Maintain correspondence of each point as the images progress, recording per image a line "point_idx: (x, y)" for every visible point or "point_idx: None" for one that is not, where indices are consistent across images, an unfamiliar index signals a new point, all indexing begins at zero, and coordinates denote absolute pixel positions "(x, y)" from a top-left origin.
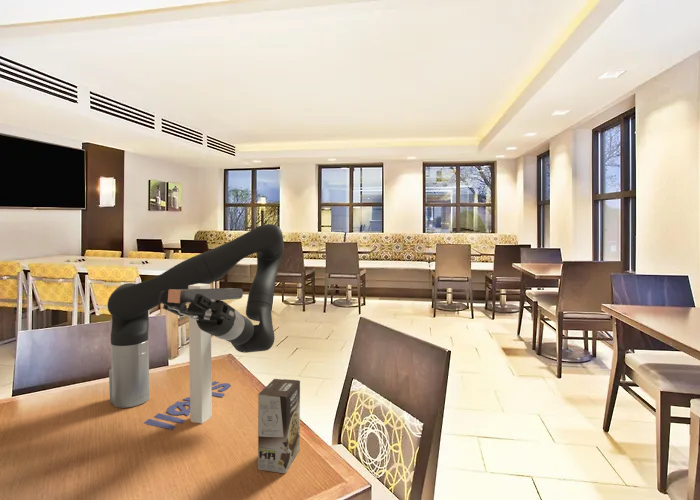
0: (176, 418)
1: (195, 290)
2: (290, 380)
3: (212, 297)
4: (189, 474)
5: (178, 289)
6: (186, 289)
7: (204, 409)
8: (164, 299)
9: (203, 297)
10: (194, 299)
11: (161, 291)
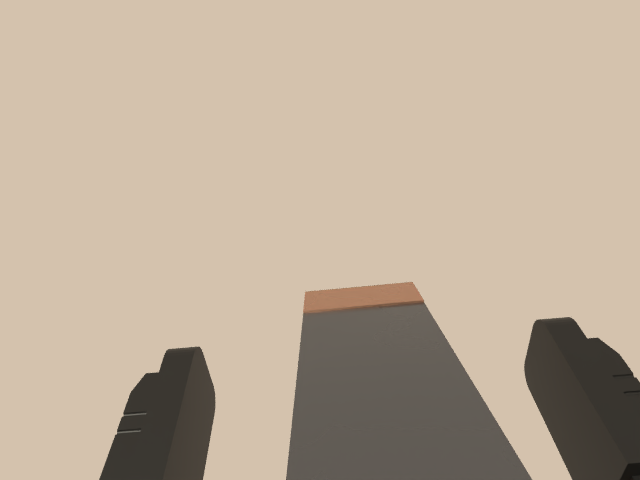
0: None
1: (297, 381)
2: None
3: None
4: None
5: (426, 321)
6: (418, 362)
7: None
8: (544, 389)
9: (140, 388)
10: (207, 377)
11: (566, 317)
